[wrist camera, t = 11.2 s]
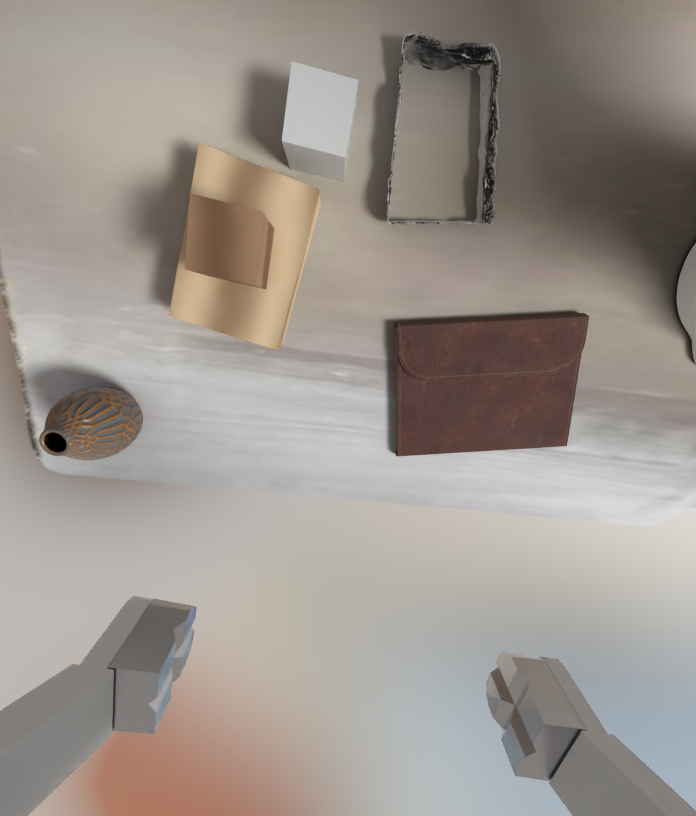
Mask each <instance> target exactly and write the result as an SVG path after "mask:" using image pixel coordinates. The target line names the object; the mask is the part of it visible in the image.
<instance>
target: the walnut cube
mask: <svg viewBox="0 0 696 816" xmlns="http://www.w3.org/2000/svg"><path fill="white" fill-rule="evenodd" d="M274 231H275V229H274V227H273V226H272V225H271V223H270V222H269V220H268V219H267V217H266V216H265V214H264V213H263V212H262V211H258V210H255V209H251V208H247V207H243V206H239V205H235V204H231V203H227V202H223V201H219V200H215V199H211V198H207V197H203V196H199V195H196V194H192V193H190V202H189V216H188V229H187V243H186V257H185V269H186V270H189V271H192V272H196V273H199V274H203V275H206V276H209V277H214V278H218V279H222V280H227V281H231V282H235V283H240V284H244V285H248V286H253V287H257V288H262V289H266V287H267V280H268V273H269V266H270V259H271V252H272V245H273V238H274Z"/></svg>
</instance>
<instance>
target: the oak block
mask: <svg viewBox="0 0 696 816" xmlns="http://www.w3.org/2000/svg"><path fill="white" fill-rule="evenodd" d="M190 193H192V194H196V195H199V196H203V197H207V198H211V199H215V200H219V201H223V202H227V203H231V204H235V205H239V206H243V207H247V208H251V209H255V210H258V211H262V212H263V213H264V214H265V216H266V217H267V219H268V220H269V222H270V223H271V225H272V226H273V227H274V229H275V231H274V238H273V245H272V252H271V259H270V266H269V273H268V280H267V287H266V289H262V288H257V287H253V286H248V285H244V284H240V283H235V282H231V281H227V280H222V279H218V278H214V277H209V276H206V275H203V274H199V273H196V272H192V271H189V270H186V269H185V257H186V243H187V229H188V216H189V203H188V209H187V214H186V220H185V226H184V232H183V238H182V243H181V249H180V255H179V261H178V266H177V272H176V278H175V284H174V290H173V295H172V301H171V307H170V313H169V316H171V317H174V318H178V319H181V320H184V321H187V322H190V323H193V324H196V325H199V326H203V327H206V328H209V329H212V330H215V331H218V332H221V333H225V334H228V335H231V336H234V337H237V338H240V339H243V340H246V341H250V342H253V343H256V344H259V345H262V346H265V347H268V348H272V349H275V350H277V349H279V348H281V347H282V346H283V342H284V338H285V335H286V331H287V327H288V323H289V320H290V316H291V312H292V309H293V305H294V301H295V298H296V294H297V290H298V286H299V283H300V279H301V275H302V272H303V268H304V264H305V260H306V257H307V253H308V249H309V246H310V242H311V238H312V235H313V231H314V227H315V223H316V220H317V216H318V212H319V209H320V205H321V200H320V192H319V189H317V188H315V187H312V186H310V185H307V184H304V183H302V182H299V181H297V180H294V179H292V178H289V177H286V176H284V175H281V174H279V173H276V172H274V171H271V170H268V169H266V168H263V167H261V166H258V165H256V164H253V163H250V162H248V161H245V160H243V159H240V158H238V157H235V156H232V155H230V154H227V153H225V152H222V151H220V150H217V149H214V148H212V147H209V146H207V145H204V144H202V143H199V145H198V151H197V156H196V162H195V168H194V174H193V180H192V185H191V191H190ZM189 202H190V197H189Z"/></svg>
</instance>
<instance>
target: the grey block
mask: <svg viewBox="0 0 696 816" xmlns="http://www.w3.org/2000/svg"><path fill="white" fill-rule="evenodd" d="M358 81H359V80H357V79H354V78H350V77H347V76H343V75H339V74H336V73H332V72H329V71H325V70H322V69H318V68H314V67H311V66H307V65H304V64H300V63H297V62H293V61H291V69H290V77H289V86H288V94H287V102H286V110H285V118H284V126H283V134H282V144H283V147H284V150H285V154H286V157H287V160H288V163H289V167H290V169H293V170H297V171H301V172H305V173H309V174H313V175H317V176H321V177H325V178H329V179H333V180H337V181H341V182H344V178H345V172H346V166H347V161H348V155H349V149H350V143H351V137H352V132H353V126H354V120H355V111H356V101H357V91H358Z"/></svg>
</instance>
